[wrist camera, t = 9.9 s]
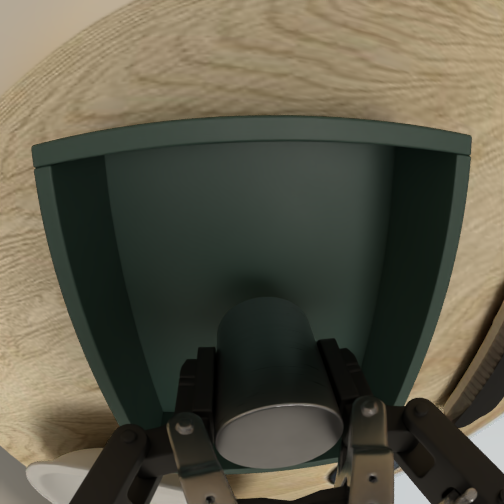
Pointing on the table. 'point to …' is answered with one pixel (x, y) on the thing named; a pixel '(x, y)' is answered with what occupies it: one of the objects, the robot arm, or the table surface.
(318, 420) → the metal cylinder
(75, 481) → the soup bowl
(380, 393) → the bin
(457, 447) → the robot arm
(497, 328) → the bristle scrub brush
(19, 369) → the table surface
